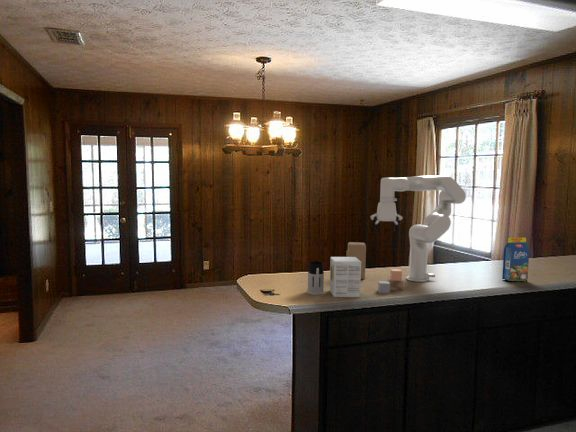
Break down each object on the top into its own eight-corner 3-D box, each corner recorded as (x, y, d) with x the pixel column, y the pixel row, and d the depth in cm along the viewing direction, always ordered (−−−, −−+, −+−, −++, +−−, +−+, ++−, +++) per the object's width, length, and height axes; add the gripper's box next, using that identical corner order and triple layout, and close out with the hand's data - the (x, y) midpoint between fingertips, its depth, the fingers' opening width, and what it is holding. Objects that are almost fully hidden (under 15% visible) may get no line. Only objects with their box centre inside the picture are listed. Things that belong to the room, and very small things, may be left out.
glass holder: (323, 290, 228) (323, 261, 227) (326, 297, 214) (327, 266, 213) (306, 290, 228) (306, 260, 227) (308, 297, 214) (308, 266, 213)
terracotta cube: (400, 278, 236) (400, 269, 236) (401, 280, 231) (402, 271, 231) (390, 278, 237) (390, 269, 236) (391, 280, 232) (392, 270, 231)
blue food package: (527, 281, 256) (530, 238, 254) (509, 282, 254) (512, 238, 252) (519, 279, 263) (522, 236, 261) (501, 280, 260) (504, 237, 258)
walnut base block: (400, 287, 238) (401, 278, 237) (403, 290, 231) (403, 281, 230) (387, 287, 238) (387, 277, 238) (389, 290, 231) (389, 280, 231)
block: (363, 276, 264) (364, 242, 263) (365, 279, 254) (366, 244, 253) (346, 275, 265) (347, 241, 264) (347, 279, 255) (348, 244, 254)
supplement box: (329, 290, 228) (329, 256, 227) (354, 290, 229) (355, 256, 227) (333, 297, 215) (334, 261, 213) (360, 297, 216) (361, 261, 214)
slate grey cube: (388, 291, 229) (388, 281, 229) (389, 293, 224) (389, 283, 224) (378, 290, 230) (378, 281, 229) (379, 293, 225) (379, 283, 224)
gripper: (402, 200, 248) (400, 231, 249) (370, 199, 249) (369, 230, 251) (404, 201, 241) (403, 232, 242) (371, 200, 242) (370, 231, 243)
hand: (386, 231), depth 246 cm, fingers open, 9 cm apart
